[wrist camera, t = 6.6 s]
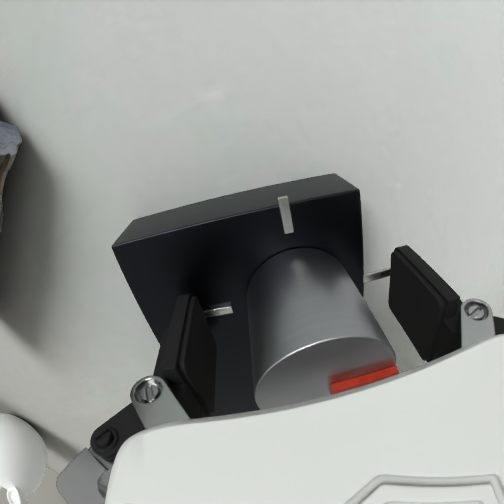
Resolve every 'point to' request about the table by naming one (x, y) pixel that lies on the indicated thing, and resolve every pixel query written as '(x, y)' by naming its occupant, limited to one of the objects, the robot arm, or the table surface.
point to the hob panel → (237, 261)
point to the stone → (7, 155)
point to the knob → (311, 331)
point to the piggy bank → (20, 458)
